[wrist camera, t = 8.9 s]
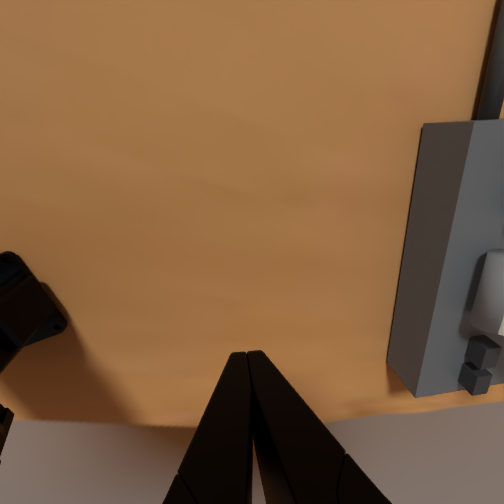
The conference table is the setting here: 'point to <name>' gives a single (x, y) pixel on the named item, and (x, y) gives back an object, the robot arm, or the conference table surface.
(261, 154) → the conference table surface
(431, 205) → the breaker box
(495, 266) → the lever
